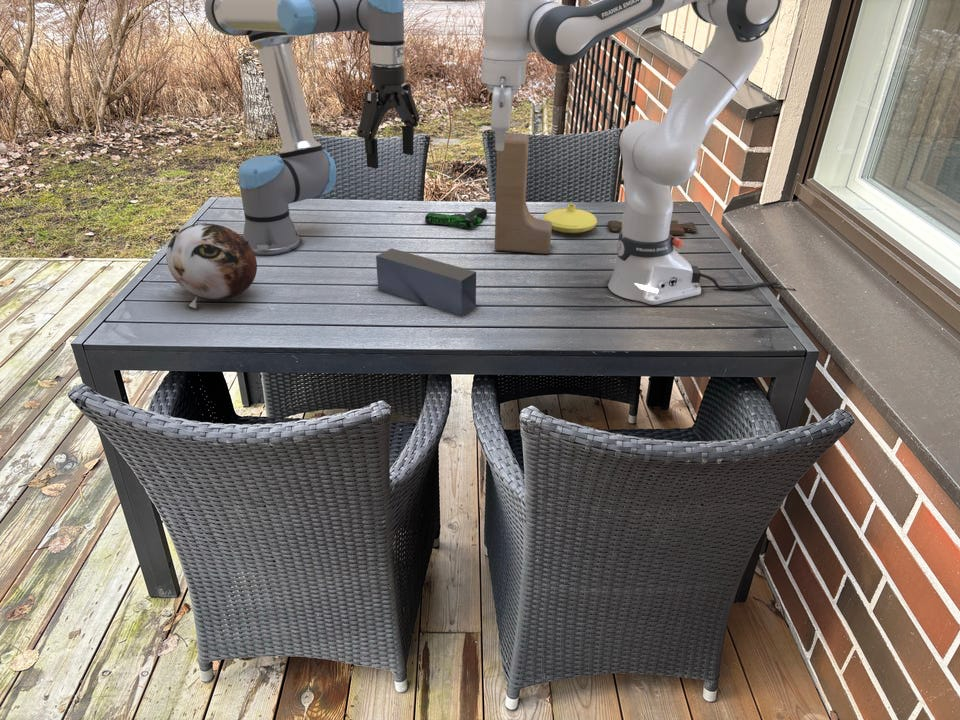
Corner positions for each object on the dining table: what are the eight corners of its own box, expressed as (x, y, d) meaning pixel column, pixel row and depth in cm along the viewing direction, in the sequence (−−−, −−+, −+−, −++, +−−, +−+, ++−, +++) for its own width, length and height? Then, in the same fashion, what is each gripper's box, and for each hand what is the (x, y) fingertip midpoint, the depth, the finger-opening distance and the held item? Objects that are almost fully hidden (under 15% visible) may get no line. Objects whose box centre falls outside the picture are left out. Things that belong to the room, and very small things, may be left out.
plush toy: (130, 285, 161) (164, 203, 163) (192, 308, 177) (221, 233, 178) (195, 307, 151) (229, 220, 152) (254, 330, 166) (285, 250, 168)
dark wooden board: (699, 237, 207) (691, 225, 216) (700, 231, 206) (692, 220, 215) (610, 234, 207) (606, 222, 216) (611, 228, 207) (607, 217, 215)
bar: (378, 290, 173) (375, 255, 169) (393, 281, 178) (391, 248, 173) (461, 316, 162) (461, 280, 157) (475, 307, 166) (476, 271, 162)
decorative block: (549, 254, 193) (556, 142, 178) (494, 251, 195) (497, 139, 180) (550, 244, 200) (558, 135, 184) (497, 241, 201) (500, 132, 186)
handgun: (493, 208, 218) (473, 222, 206) (492, 217, 219) (473, 231, 207) (445, 201, 223) (423, 215, 211) (445, 211, 225) (423, 224, 212)
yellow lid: (559, 216, 220) (561, 193, 217) (605, 227, 212) (608, 204, 209) (532, 230, 209) (533, 207, 206) (580, 242, 201) (582, 218, 198)
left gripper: (364, 74, 147) (369, 176, 158) (433, 59, 165) (434, 151, 176) (336, 70, 150) (343, 170, 161) (407, 55, 168) (409, 146, 180)
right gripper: (519, 83, 133) (514, 158, 140) (519, 66, 150) (515, 133, 157) (485, 81, 133) (482, 156, 140) (489, 65, 150) (487, 132, 157)
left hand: (390, 160), depth 169 cm, fingers open, 13 cm apart
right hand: (500, 144), depth 149 cm, fingers open, 8 cm apart
